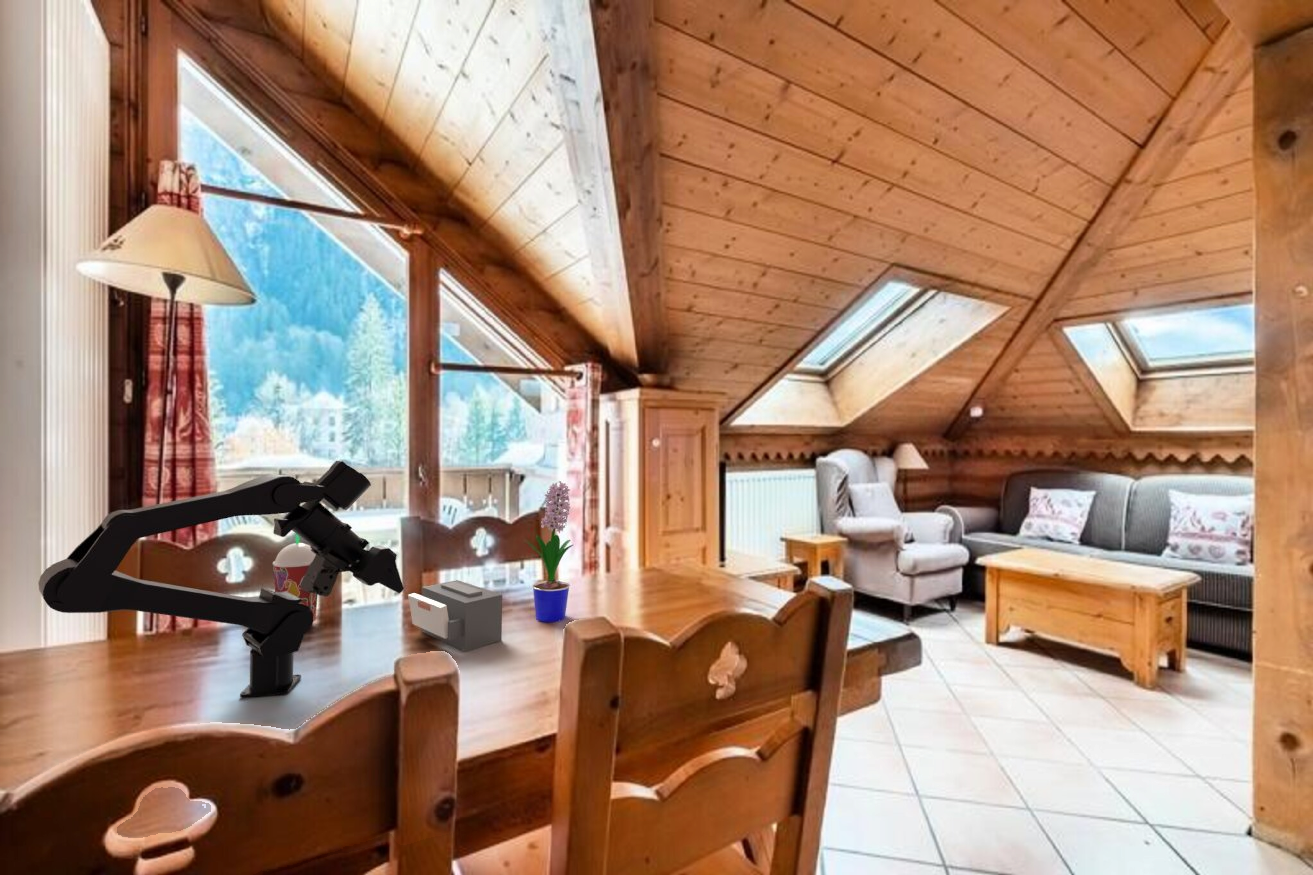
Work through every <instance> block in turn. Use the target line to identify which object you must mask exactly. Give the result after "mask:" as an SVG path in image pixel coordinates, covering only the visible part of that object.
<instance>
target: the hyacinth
mask: <svg viewBox="0 0 1313 875" xmlns="http://www.w3.org/2000/svg"><path fill="white" fill-rule="evenodd" d="M558 483H559V486H558ZM570 490H571V489H570V488H569V486H568V485H567V483H566V482H565V483H563V482H562V481H560V480H558V481H557V482H556V483H552V484H551V485H549V487H548V490H547V491H546V493H545V494H544V496H545V498H544V500H545V502H546V504H545V507H546V508H544V511H545V516H544V517H543V518H541V521H540V524H541V525H540V527H541V528H542V529H544V527H545V526H546V528H547V529H548V531H551V536H550V540H548V541H547V542H546V544H545V542H544V540H543V538H541V536H539V534H537V535H536V540H537V543H538V546H539V549H540V550H541V551H540V550H538V548H536V547H535V546H534V545H533V544H531V543H530V542H529V541H528V540H527V539H524V541H525V542H526V543H527V545H529V546H530V547H531V548H532V549H533V550H534V551H535V552H537V553H538V554H539V556H540V557H541V559H542V561H543V564H544V566H545V569H546V572H547V579H546V580H543V581H538V582H535V583H533V584H532V586H531V587H532V591H533V592H532V593H533V599H534V611H535V619H536V620H537V622H541V623H556V622H557V621H558V622H560V621H559V620H561V621H563V620H565V619H564V618H566V615H567V614H566V613H567V606H568V597H569V593H570V592H569V591H570V586H571V585H570V583H569V582H567V581H563V580H556V578H555V577H556V571H557V569H558V566H559V565H560V562H561V560H562V558H563V556H564V554H565V553H566V552H567V551H568V550H569V549H570V548H572V547H573V546H574V544H571V545H568V544H569V543H570V542H571V539H567V540H565V541H564V542H563V543H562V545H561V540H560V536H559V535H558V534H560V533H561V532H563V531H564V529H565V528H566V525H567V522H568V518H569V517H568V516H570V509H571V506H570V505H571V503H570V500H571V499H570V497H569V492H570ZM564 524H565V525H564ZM556 532H558V534H555V533H556ZM567 545H568V546H567ZM562 619H563V620H562Z"/></svg>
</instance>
